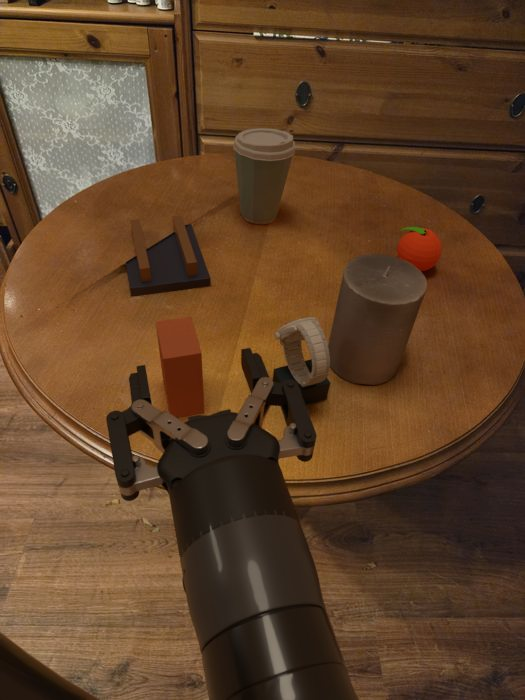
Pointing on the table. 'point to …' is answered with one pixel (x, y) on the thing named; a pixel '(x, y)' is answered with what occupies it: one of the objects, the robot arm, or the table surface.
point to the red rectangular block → (181, 366)
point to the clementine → (419, 248)
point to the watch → (304, 372)
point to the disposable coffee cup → (262, 171)
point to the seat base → (167, 261)
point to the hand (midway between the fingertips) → (194, 363)
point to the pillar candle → (374, 317)
